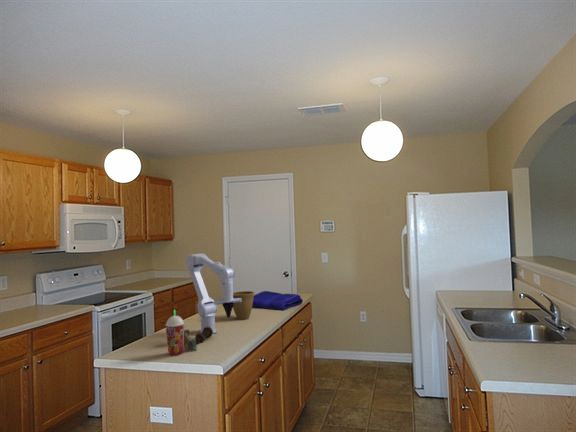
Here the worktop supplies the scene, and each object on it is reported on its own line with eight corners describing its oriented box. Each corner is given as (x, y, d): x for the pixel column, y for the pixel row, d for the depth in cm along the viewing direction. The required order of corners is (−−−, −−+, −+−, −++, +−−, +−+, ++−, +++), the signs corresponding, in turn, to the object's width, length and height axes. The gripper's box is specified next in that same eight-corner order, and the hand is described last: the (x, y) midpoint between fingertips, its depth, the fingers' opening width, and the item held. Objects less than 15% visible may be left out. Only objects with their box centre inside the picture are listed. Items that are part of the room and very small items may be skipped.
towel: (284, 311, 267) (284, 298, 267) (242, 307, 285) (242, 295, 285) (303, 304, 289) (303, 292, 289) (263, 301, 308) (263, 289, 308)
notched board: (183, 339, 205) (182, 330, 205) (189, 339, 206) (188, 329, 207) (189, 351, 185) (189, 340, 185) (196, 350, 186) (196, 339, 186)
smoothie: (187, 350, 187) (185, 307, 187) (183, 356, 179) (181, 311, 179) (169, 351, 187) (167, 308, 187) (164, 357, 178) (162, 312, 179)
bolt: (195, 348, 196) (207, 338, 211) (203, 343, 195) (214, 334, 210) (189, 338, 196) (201, 329, 211) (197, 333, 196) (209, 324, 210)
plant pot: (256, 315, 255) (255, 290, 256) (252, 321, 241) (251, 294, 241) (233, 316, 257) (233, 291, 257) (228, 321, 242) (227, 295, 243)
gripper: (215, 293, 203) (216, 320, 202) (242, 290, 208) (243, 316, 208) (212, 291, 209) (213, 317, 209) (239, 289, 215) (240, 314, 215)
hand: (228, 317), depth 209 cm, fingers closed
